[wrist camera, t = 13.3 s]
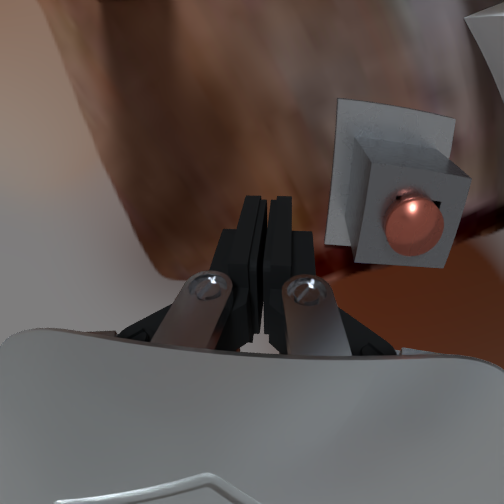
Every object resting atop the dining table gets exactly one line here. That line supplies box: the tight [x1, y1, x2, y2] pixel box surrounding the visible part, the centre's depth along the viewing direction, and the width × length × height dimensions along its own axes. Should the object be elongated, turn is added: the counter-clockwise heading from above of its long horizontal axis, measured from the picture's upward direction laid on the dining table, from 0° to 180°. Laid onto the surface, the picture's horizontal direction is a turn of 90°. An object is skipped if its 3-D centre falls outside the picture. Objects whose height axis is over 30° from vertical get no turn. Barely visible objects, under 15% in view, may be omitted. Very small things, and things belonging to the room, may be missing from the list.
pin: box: [383, 193, 444, 256], centre depth 28 cm, size 6×6×10 cm
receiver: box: [324, 98, 472, 268], centre depth 29 cm, size 18×14×10 cm
